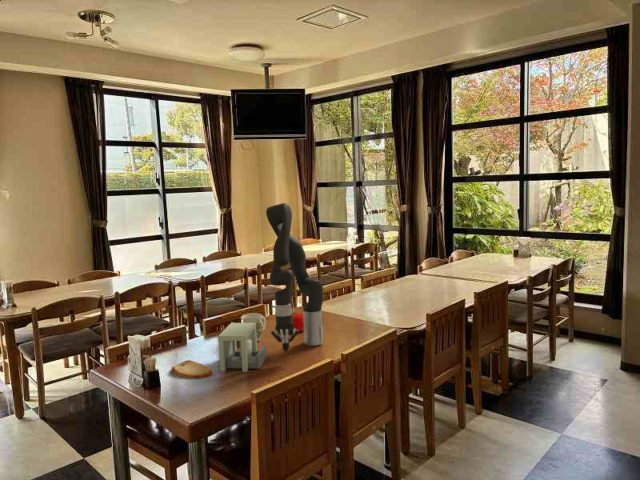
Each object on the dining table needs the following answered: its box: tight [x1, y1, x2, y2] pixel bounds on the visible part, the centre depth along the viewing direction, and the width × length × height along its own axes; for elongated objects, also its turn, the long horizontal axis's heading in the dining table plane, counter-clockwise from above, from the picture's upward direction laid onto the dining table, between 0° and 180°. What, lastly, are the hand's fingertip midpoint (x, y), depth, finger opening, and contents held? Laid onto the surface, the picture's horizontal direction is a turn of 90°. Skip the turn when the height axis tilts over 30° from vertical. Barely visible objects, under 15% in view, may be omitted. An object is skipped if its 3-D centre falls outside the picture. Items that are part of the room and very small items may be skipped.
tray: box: [226, 343, 267, 370], centre depth 220 cm, size 16×15×6 cm
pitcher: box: [240, 312, 267, 342], centre depth 254 cm, size 11×18×14 cm, turn 144°
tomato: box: [292, 312, 304, 332], centre depth 267 cm, size 12×12×10 cm
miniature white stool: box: [217, 322, 258, 373], centre depth 220 cm, size 12×20×16 cm, turn 174°
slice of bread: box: [171, 359, 214, 380], centre depth 212 cm, size 18×18×4 cm
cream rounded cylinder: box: [239, 339, 252, 361], centre depth 220 cm, size 5×5×9 cm
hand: (286, 350), depth 219 cm, fingers closed
